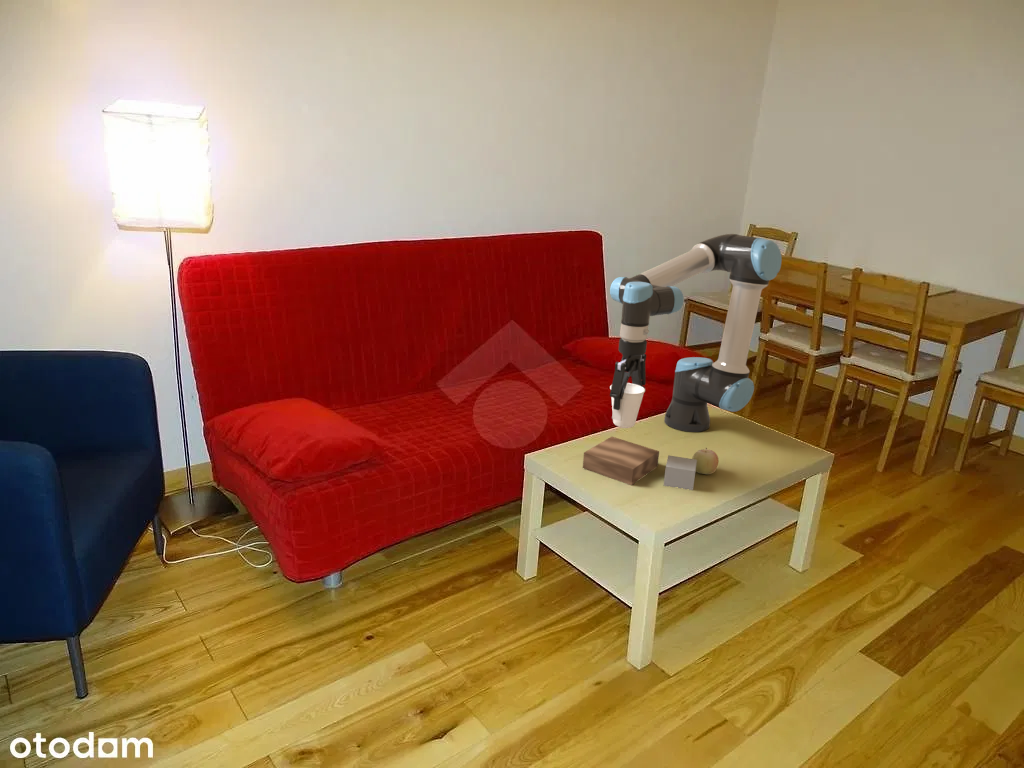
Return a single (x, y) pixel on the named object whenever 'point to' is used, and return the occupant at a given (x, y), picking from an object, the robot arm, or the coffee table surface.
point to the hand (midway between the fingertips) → (625, 414)
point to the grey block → (680, 472)
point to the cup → (630, 405)
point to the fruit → (706, 461)
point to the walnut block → (621, 460)
